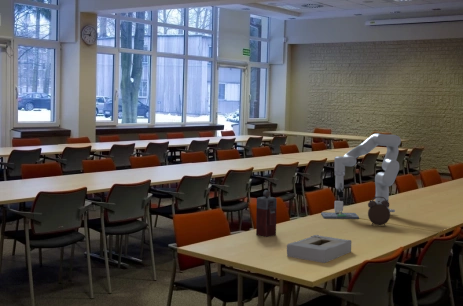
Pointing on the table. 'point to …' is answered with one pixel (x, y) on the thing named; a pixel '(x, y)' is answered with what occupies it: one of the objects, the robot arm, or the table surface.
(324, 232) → the table surface
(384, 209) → the alarm clock
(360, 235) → the table surface
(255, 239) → the table surface
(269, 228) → the maroon square bottle
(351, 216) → the plate
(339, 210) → the peg
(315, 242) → the box
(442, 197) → the table surface
